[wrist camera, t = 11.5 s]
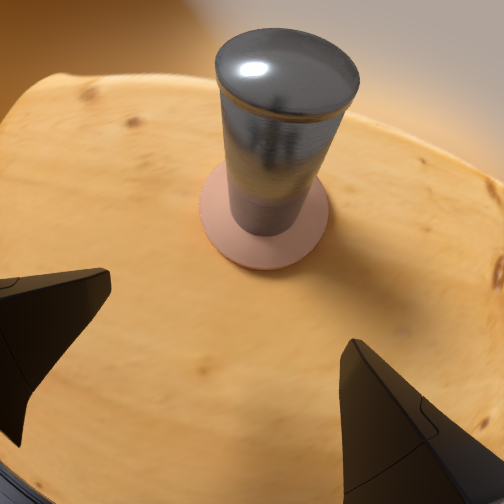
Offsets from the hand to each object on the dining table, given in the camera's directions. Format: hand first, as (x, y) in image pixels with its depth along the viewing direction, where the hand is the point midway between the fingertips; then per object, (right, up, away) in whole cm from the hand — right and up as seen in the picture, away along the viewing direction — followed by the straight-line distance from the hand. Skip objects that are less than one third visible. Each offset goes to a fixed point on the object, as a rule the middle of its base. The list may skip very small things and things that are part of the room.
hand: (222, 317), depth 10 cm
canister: (+2, +6, +10) cm, 12 cm away
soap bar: (+2, +5, +11) cm, 12 cm away
